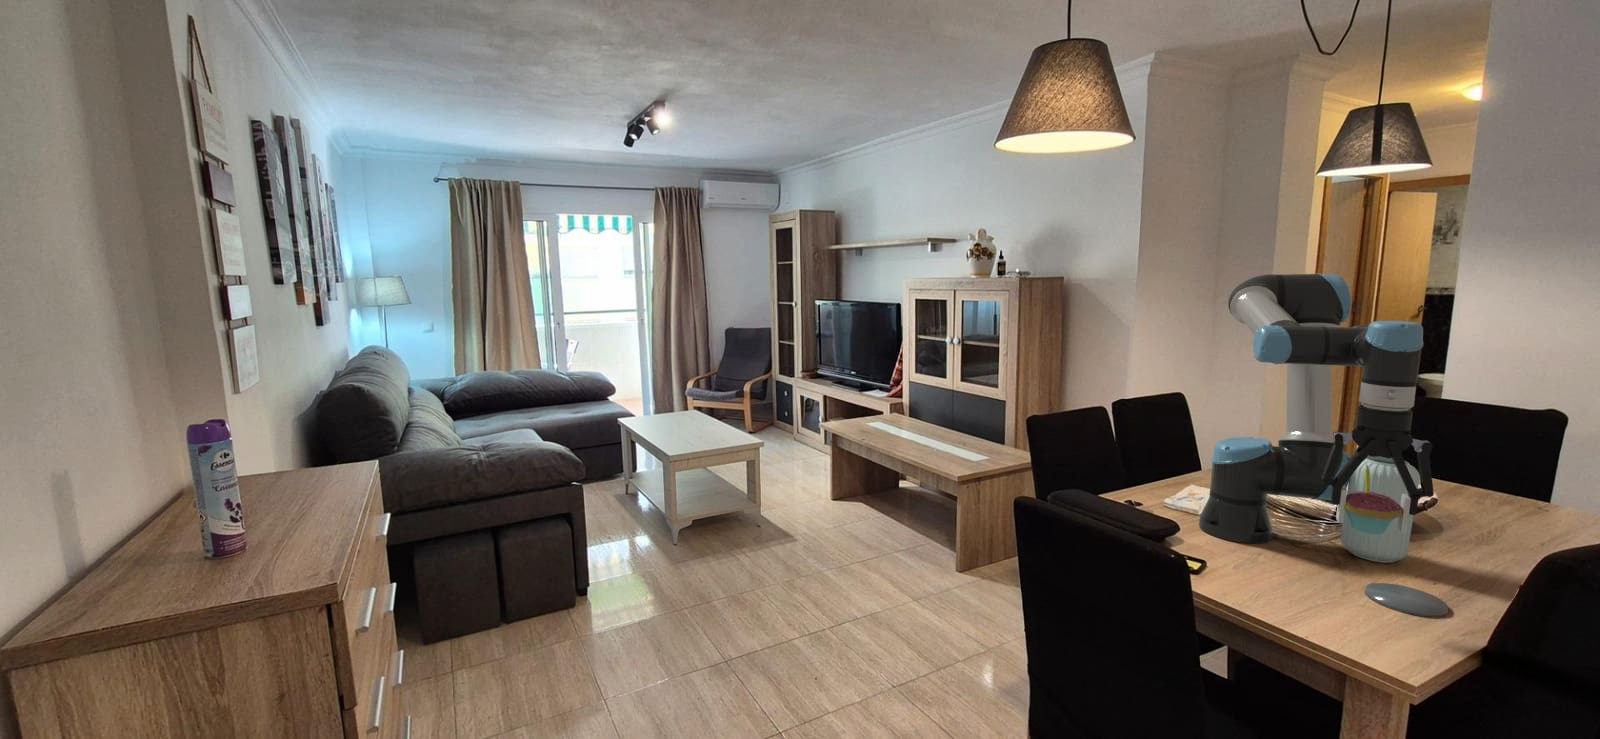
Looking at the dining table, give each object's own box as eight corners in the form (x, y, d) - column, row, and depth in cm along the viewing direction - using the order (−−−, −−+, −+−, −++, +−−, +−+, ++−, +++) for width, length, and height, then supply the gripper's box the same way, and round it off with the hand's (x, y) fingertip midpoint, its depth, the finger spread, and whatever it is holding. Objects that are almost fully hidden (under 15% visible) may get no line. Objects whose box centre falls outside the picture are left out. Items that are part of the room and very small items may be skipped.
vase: (1406, 555, 150) (1422, 460, 147) (1404, 571, 142) (1421, 471, 139) (1341, 541, 158) (1354, 450, 155) (1336, 555, 150) (1350, 459, 146)
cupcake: (1327, 521, 128) (1334, 461, 126) (1369, 520, 129) (1377, 460, 127) (1367, 539, 120) (1375, 475, 118) (1412, 538, 120) (1421, 474, 118)
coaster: (1372, 606, 128) (1372, 602, 128) (1359, 581, 138) (1359, 578, 138) (1457, 623, 122) (1457, 619, 122) (1436, 595, 132) (1437, 591, 132)
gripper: (1314, 404, 123) (1301, 521, 126) (1471, 417, 112) (1452, 544, 115) (1310, 397, 129) (1298, 508, 133) (1458, 408, 118) (1440, 529, 122)
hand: (1370, 525), depth 124 cm, fingers closed on cupcake, 8 cm apart
